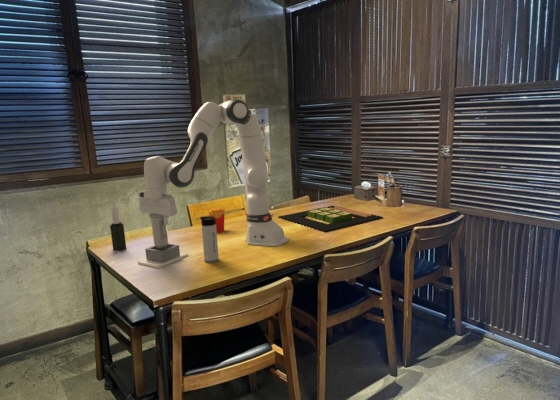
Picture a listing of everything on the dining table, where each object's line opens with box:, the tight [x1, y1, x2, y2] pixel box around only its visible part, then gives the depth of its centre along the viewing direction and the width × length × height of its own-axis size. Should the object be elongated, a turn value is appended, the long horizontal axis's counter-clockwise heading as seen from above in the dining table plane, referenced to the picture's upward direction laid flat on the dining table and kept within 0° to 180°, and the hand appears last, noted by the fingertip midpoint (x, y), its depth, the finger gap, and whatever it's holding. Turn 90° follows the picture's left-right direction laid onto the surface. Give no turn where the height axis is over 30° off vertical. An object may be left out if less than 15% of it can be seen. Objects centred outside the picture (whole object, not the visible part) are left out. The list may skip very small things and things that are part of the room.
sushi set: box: [277, 205, 384, 233], centre depth 245 cm, size 45×45×4 cm
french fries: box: [208, 207, 226, 233], centre depth 225 cm, size 9×4×13 cm, turn 117°
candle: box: [109, 199, 127, 252], centre depth 199 cm, size 5×5×25 cm
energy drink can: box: [150, 214, 169, 248], centre depth 180 cm, size 6×6×15 cm
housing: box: [137, 242, 189, 269], centre depth 182 cm, size 13×18×6 cm
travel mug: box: [200, 216, 220, 264], centre depth 177 cm, size 6×7×20 cm
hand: (159, 223), depth 179 cm, fingers closed on energy drink can, 6 cm apart
